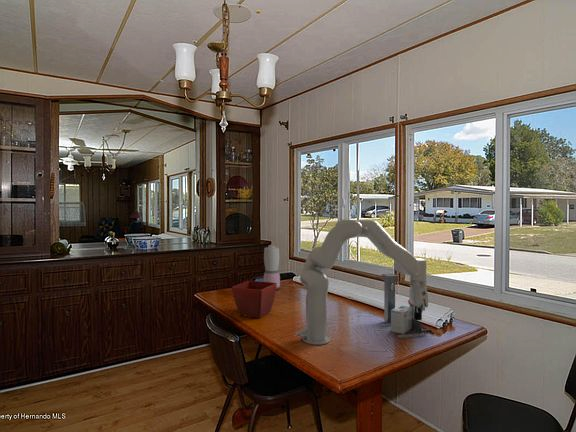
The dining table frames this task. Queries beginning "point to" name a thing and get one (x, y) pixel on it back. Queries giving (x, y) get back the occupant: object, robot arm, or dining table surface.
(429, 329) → the lever track
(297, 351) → the dining table surface
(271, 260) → the blender
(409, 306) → the lever
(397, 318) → the light bulb box
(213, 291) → the dining table surface
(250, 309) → the plant pot
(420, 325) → the press frame
